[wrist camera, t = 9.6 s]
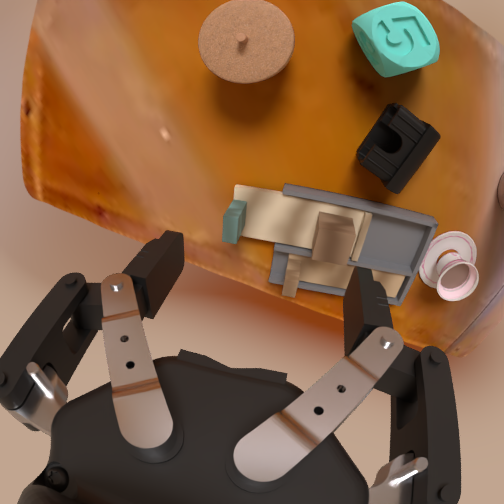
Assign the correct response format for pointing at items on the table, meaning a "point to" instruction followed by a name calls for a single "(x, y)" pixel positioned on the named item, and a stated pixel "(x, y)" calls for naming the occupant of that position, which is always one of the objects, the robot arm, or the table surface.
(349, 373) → the robot arm
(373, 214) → the tray
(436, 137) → the end cap
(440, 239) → the teacup
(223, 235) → the strip
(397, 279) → the strip
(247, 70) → the lidded jar
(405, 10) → the decorative dice
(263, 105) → the table surface
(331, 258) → the walnut cube
